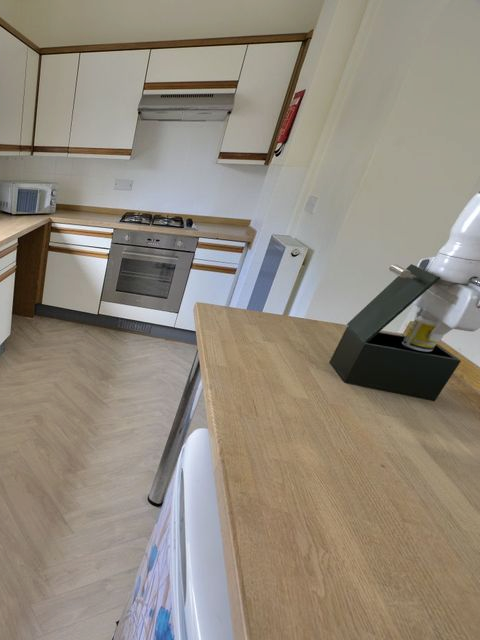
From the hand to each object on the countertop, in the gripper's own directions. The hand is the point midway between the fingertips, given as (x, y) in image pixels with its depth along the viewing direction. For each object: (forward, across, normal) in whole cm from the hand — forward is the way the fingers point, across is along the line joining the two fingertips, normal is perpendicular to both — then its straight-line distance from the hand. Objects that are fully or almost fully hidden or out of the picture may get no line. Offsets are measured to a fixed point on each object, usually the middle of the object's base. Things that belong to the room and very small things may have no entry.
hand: (424, 334), depth 87 cm
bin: (+12, 0, +3) cm, 13 cm away
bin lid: (-5, 0, +8) cm, 9 cm away
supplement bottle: (+3, 0, 0) cm, 3 cm away
